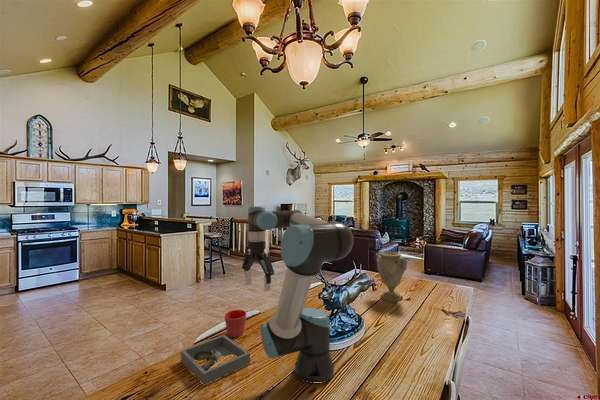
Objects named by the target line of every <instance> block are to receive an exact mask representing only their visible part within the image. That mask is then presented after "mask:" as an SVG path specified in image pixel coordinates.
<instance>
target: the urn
mask: <svg viewBox="0 0 600 400" xmlns="http://www.w3.org/2000/svg"><path fill="white" fill-rule="evenodd" d="M401 256H402V254H401V253H400V252H397V251H384V252H379V253H377V252H376V253H375V261H376V265H377V272H378V274H379V276H380V279H381V281H382V284H384V285H385V286H386V287H387V288H388V291H384V292H383V294H381V295H380V299H382V300H384V301H388V302H390V303H396V302H398V301H401V300H403V299H404V298H403V297H404V296H403V295H400V293H398V292H395V289H396V288H397V286H398V285H400V283H401V281H402V278H403V274H405V272H406V270H407V266H408V261H407V259H405V258H403V257H401Z"/></svg>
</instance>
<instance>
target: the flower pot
mask: <svg viewBox="0 0 600 400" xmlns="http://www.w3.org/2000/svg"><path fill="white" fill-rule="evenodd" d="M246 320H247V312H246V311H245V310H244V309H243V310H242V309H233V310H229V311H226V313H225V314H224V322H225V326H226V327H225V328H226V333H227V337H228V336H229V337H231V338H238V336H239V337H241V336H242V335H244V332H245V327H246Z"/></svg>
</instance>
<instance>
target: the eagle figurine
mask: <svg viewBox="0 0 600 400" xmlns="http://www.w3.org/2000/svg"><path fill="white" fill-rule="evenodd" d="M212 350H213V352H211V351H209V352H207V351H200V352H198V353H196V354H195V356H194V357H193V358H194V359H195V360H206V361H205V364H203V365H202V366H201V367H202V368H203V369H204V370H205V371H207V370H208V369H209V368H210V367H211V366H213V365H214V364H215V361H216V362H217V360H219V359H220V357H221V353H220V352H219V351H217V352H216V350H214V349H213V348H212Z"/></svg>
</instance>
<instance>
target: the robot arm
mask: <svg viewBox="0 0 600 400" xmlns="http://www.w3.org/2000/svg"><path fill="white" fill-rule="evenodd" d="M247 211H248V212H247V220H248V226H247V227H248V231H247V232H248V235H247V237H248V249H246V250H245V255H244V258H243V262H242V265H241V269H242V270H244V279H245V281H244V282H245V286H250V285H252V270H251V268H252V266H253V265H254V263H255V262H257V263H258V264H260V267H261V269H262V271H263V273H264V276H263V277H264V279H263V280H264V281H263V282H264V283H263V284H264V285H263V286H264V290H263V291H264V292H269V291H271V283H272V276H274V275H275V270H274V267H273V264H272V260H271V258H270V252H265V249H266V241H265V240H266V231H267V230H268V231H271V230H273V229H285V231H284V232H283V234H282V236H281V239H280V256H281V260H282V262H283V263H284V265H285V267H286V268H287V269H286V272H285V276H284V279H283V284H282V286H281V287H282V288H281V291H280V295H279V299H278V303H277V306H276V309H275V311H274V312H273V313H272V314H271V315H270V316H269V321H268V322H264V323H263V324H261V325H260V337H261V343H262V346H263V350H264V353H265V355H266V356H267V357H268V358H269V359H276V358H279V359H280V357H284V356H286V355H290V354H294V353H297V352H298V354H297V357H296V361H295V364H294V373H295V376H296V375H297V376H296V377H297V378H298V379H299V380H300V379H301V380H300V381H302V380H304V381H308V382H324V381H327V382H328V380H329V379H330V380H331V379H332V378H333V377H334V375H335V364H334V362H333V360H332V359H333V358H332V356H331V352H330V327H331V324H330V318H329V317H330V316H329V314H328V313H326V312H325V311H324V310H321V309H318V308H313V307H312V308H311V307H307V308H306V307H305V308H304V306H305V304H306V301H307V298H308V294H309V291H310V288H311V285H312V282H313V280H314V279H313V278H314V277H315V276H318V275H319V273H320V272H321V270H322V267H323V264H324V263H326V262H332V261H338V260H342V259H344V258H346V257H347V256H348V255H349V253H351V251H352V249H353V246H354V242H355V241H354V234H353V232H352V231H351V229H350V227H348V226H347V225H346V224H344V223H342V222H339V221H335V220H334V221H333V220H329V221H327V220H322V219H319V218H316V217H314V216H311V215H308V214H306V213H305V211H303V210H298V209H293V210H268V211H267V210H266V208H265V206H262V205H261V206H259V205H258V206H257V205H256V206H255V205H253V206H252V205H251V206H249V207H248V210H247ZM330 380H329V381H330ZM304 381H303V382H304ZM324 383H325V382H324Z"/></svg>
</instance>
